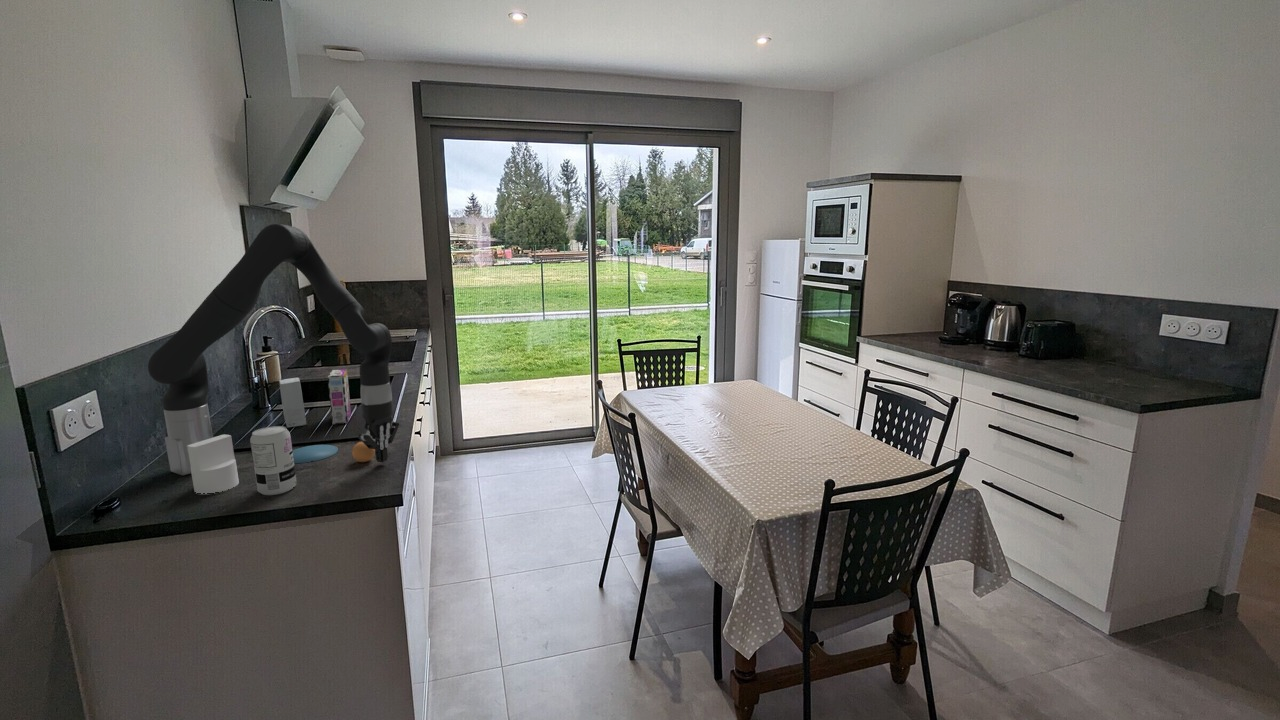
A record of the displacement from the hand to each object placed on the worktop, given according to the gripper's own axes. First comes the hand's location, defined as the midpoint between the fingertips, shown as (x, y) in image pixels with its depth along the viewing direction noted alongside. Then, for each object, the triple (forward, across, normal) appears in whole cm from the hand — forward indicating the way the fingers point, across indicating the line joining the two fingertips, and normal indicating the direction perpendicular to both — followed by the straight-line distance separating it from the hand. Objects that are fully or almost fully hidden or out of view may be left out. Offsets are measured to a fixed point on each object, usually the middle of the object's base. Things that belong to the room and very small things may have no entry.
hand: (382, 461), depth 158 cm
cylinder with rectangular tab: (+2, +24, -29) cm, 38 cm away
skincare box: (+2, -21, -54) cm, 58 cm away
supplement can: (+2, +21, -13) cm, 24 cm away
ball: (-2, 0, -6) cm, 7 cm away
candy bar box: (+2, -29, -42) cm, 51 cm away
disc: (+1, 0, -25) cm, 25 cm away
